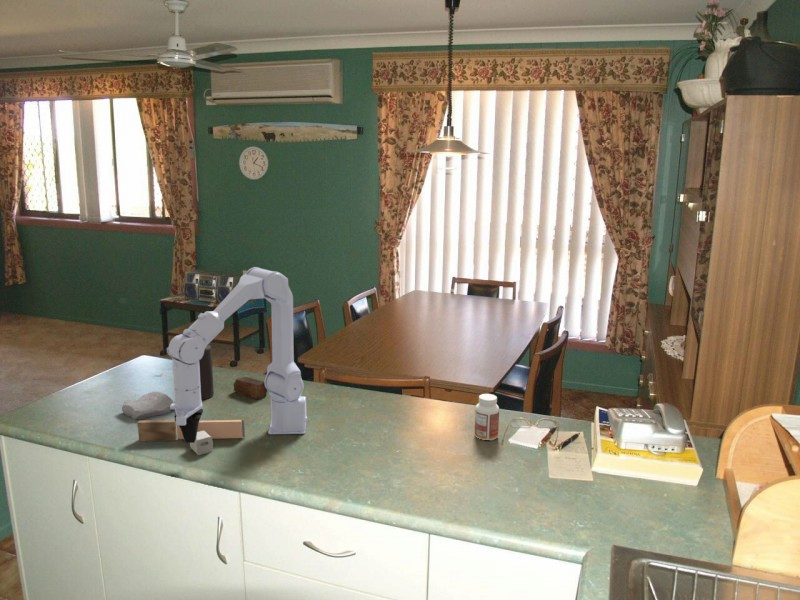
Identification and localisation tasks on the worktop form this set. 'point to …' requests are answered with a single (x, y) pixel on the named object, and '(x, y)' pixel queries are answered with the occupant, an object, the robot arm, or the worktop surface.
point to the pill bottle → (487, 417)
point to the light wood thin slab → (219, 428)
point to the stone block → (148, 405)
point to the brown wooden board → (157, 430)
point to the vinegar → (206, 374)
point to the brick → (250, 387)
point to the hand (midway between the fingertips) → (190, 441)
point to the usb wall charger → (202, 443)
